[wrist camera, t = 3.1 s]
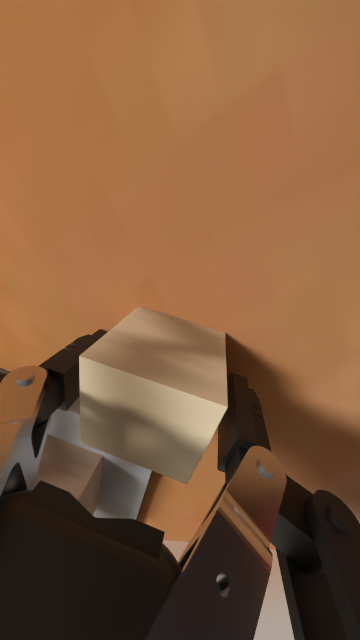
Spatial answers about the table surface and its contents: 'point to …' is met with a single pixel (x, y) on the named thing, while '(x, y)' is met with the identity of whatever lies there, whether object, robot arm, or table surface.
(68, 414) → the plate
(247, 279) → the table surface
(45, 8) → the table surface
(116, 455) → the maple cube
